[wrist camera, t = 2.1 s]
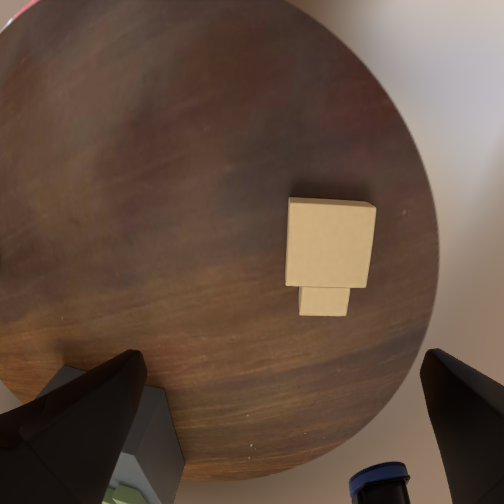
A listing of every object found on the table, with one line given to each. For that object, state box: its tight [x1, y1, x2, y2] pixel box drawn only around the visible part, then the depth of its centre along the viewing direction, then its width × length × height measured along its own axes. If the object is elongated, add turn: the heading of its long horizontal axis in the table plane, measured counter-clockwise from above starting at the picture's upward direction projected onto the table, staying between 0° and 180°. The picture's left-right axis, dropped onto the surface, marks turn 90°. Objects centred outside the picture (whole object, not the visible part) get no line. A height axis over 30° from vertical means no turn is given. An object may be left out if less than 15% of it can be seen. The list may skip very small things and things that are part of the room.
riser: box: [35, 365, 185, 504], centre depth 24 cm, size 12×14×8 cm
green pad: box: [102, 484, 148, 504], centre depth 20 cm, size 8×6×2 cm, turn 89°
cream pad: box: [285, 197, 376, 316], centre depth 18 cm, size 5×7×2 cm
